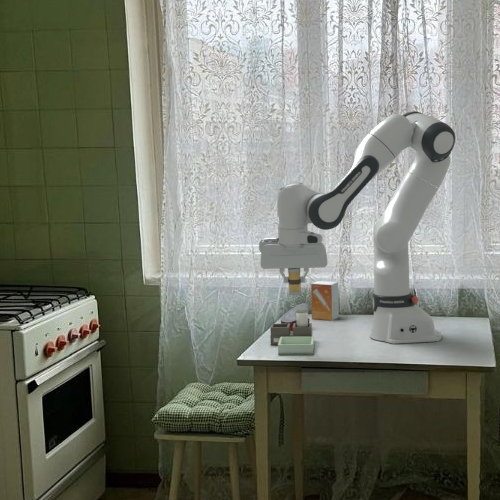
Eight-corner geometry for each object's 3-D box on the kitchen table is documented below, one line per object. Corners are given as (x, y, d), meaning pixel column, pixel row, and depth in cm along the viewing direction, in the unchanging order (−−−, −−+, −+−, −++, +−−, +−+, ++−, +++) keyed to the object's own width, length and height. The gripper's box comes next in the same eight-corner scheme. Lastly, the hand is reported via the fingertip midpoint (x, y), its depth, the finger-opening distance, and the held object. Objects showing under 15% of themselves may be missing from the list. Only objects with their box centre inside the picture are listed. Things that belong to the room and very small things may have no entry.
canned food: (306, 343, 282) (306, 321, 276) (277, 339, 285) (277, 317, 279) (313, 322, 291) (313, 300, 285) (285, 318, 293) (284, 296, 288)
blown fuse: (300, 295, 250) (300, 268, 249) (288, 295, 251) (287, 269, 250) (301, 293, 254) (300, 267, 253) (289, 293, 254) (288, 267, 253)
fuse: (308, 331, 265) (307, 307, 264) (308, 334, 262) (307, 309, 261) (297, 331, 266) (296, 307, 265) (296, 334, 262) (295, 309, 261)
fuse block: (312, 340, 267) (312, 323, 266) (311, 344, 261) (311, 327, 260) (272, 340, 268) (271, 323, 268) (270, 344, 262) (270, 327, 262)
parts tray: (314, 345, 259) (313, 336, 259) (312, 354, 249) (312, 344, 248) (280, 346, 260) (280, 336, 260) (278, 354, 250) (277, 344, 250)
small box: (311, 319, 298) (310, 283, 296) (318, 315, 304) (317, 280, 302) (332, 320, 294) (331, 284, 293) (339, 317, 300) (338, 281, 298)
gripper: (257, 239, 248) (259, 285, 250) (326, 237, 246) (327, 283, 248) (259, 237, 254) (261, 281, 256) (326, 235, 252) (328, 280, 254)
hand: (294, 282), depth 252 cm, fingers closed on blown fuse, 4 cm apart
